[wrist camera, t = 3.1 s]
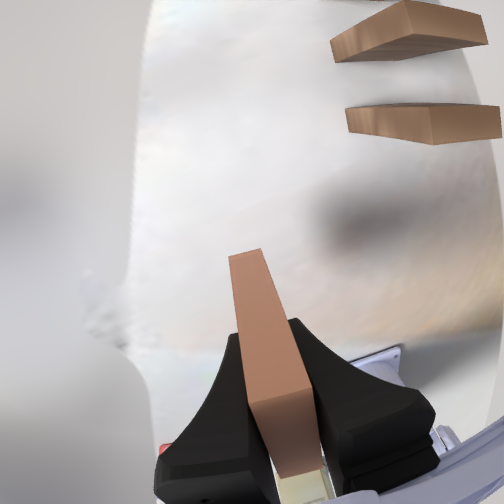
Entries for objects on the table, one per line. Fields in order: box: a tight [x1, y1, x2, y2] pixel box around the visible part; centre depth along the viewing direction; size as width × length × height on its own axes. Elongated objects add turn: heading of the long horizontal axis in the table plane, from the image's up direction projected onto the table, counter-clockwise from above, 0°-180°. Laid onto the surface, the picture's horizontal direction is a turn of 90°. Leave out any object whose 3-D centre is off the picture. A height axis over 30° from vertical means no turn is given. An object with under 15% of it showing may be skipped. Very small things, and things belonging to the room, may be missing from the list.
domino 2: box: [345, 103, 502, 145], centre depth 15 cm, size 2×5×9 cm, turn 102°
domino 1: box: [330, 0, 488, 63], centre depth 13 cm, size 2×5×9 cm, turn 102°
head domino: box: [228, 248, 324, 479], centre depth 12 cm, size 2×5×9 cm, turn 13°
